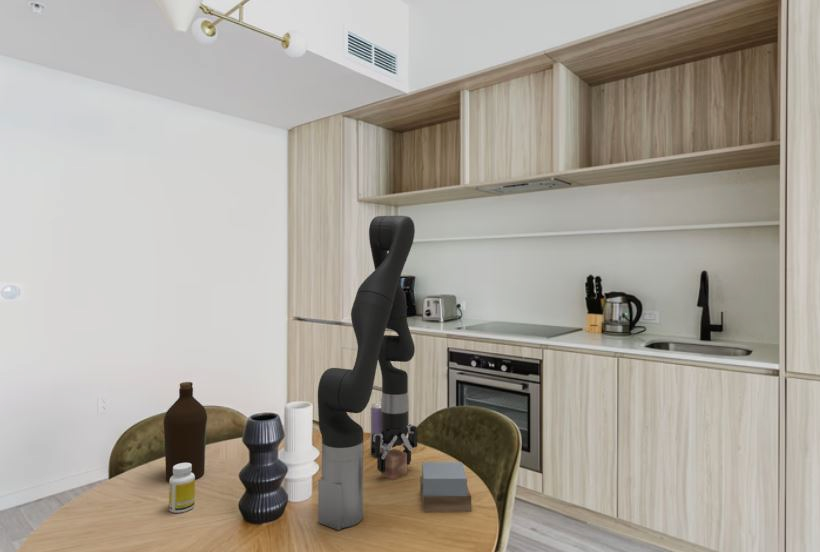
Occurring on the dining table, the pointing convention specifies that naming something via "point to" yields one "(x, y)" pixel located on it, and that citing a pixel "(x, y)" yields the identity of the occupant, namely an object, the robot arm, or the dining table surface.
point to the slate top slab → (444, 479)
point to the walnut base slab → (445, 502)
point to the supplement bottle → (182, 488)
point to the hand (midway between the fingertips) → (394, 467)
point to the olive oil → (185, 432)
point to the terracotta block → (395, 464)
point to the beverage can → (376, 420)
